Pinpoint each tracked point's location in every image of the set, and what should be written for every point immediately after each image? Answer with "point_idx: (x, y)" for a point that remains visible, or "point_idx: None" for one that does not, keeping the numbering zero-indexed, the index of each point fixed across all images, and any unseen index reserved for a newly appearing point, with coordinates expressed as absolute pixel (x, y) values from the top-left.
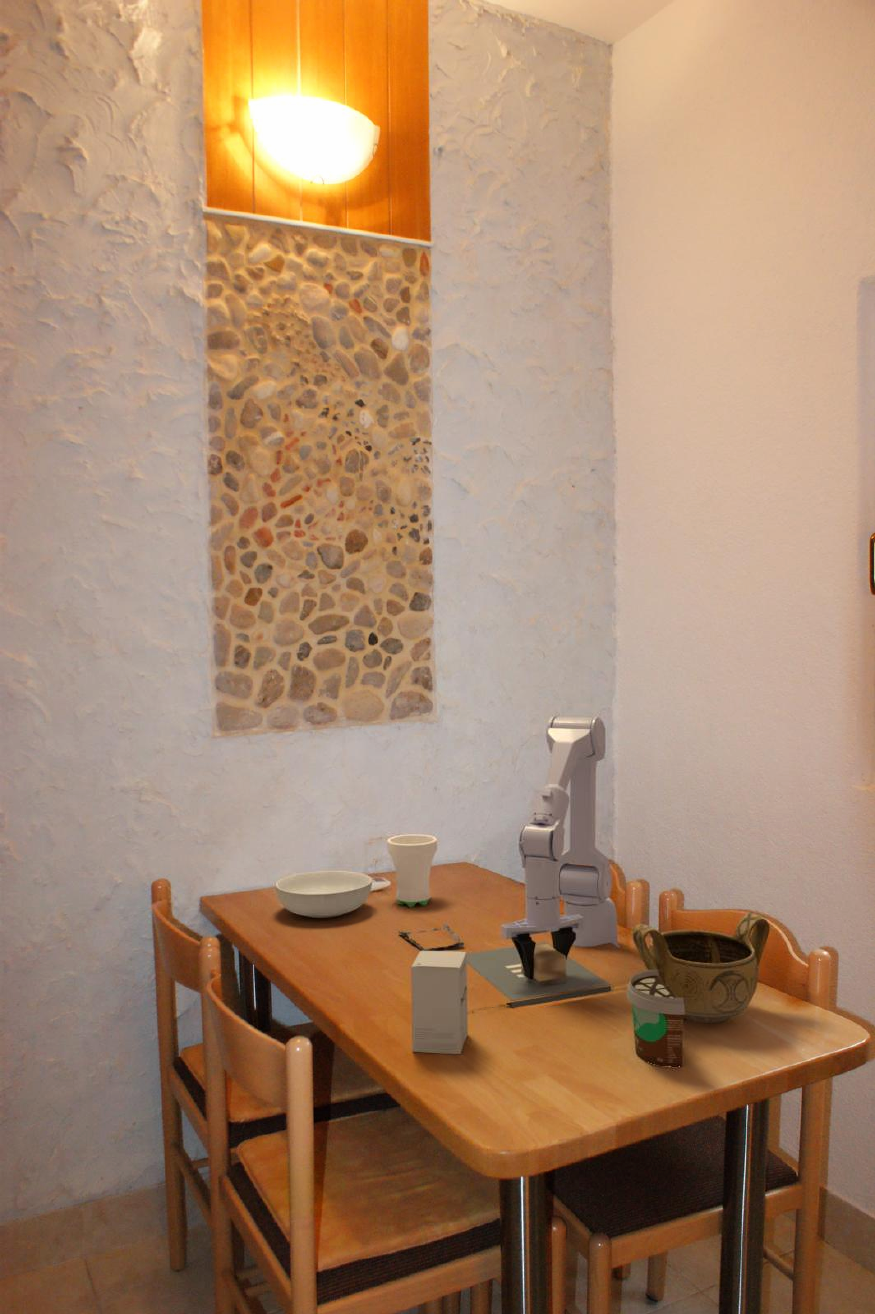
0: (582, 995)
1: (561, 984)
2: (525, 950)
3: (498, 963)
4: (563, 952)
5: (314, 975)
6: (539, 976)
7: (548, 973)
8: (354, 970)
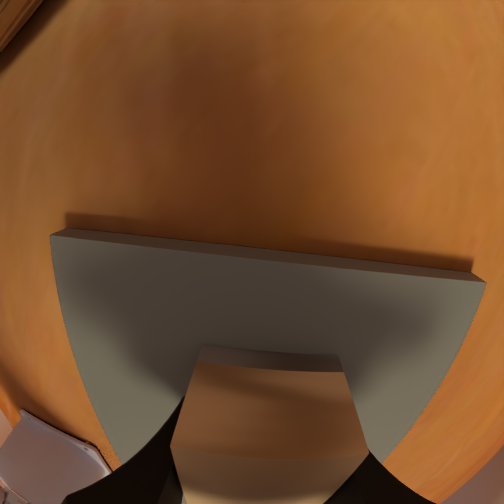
0: (179, 241)
1: (230, 342)
2: (418, 497)
3: None
4: (163, 470)
5: (482, 460)
6: (347, 387)
7: (297, 393)
8: (452, 473)
